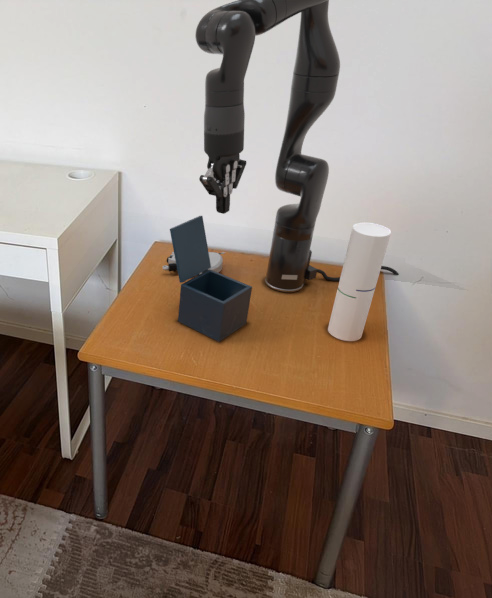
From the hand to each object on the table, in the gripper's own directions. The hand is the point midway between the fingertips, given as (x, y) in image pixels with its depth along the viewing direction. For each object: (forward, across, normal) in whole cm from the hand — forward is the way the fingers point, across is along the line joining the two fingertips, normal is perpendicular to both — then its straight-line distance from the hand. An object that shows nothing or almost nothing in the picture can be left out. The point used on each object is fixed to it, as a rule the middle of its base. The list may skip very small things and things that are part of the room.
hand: (223, 211), depth 118 cm
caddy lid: (+11, 0, +8) cm, 13 cm away
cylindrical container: (+30, +16, -21) cm, 41 cm away
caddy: (+27, -2, +2) cm, 27 cm away
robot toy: (+28, +15, +20) cm, 38 cm away
